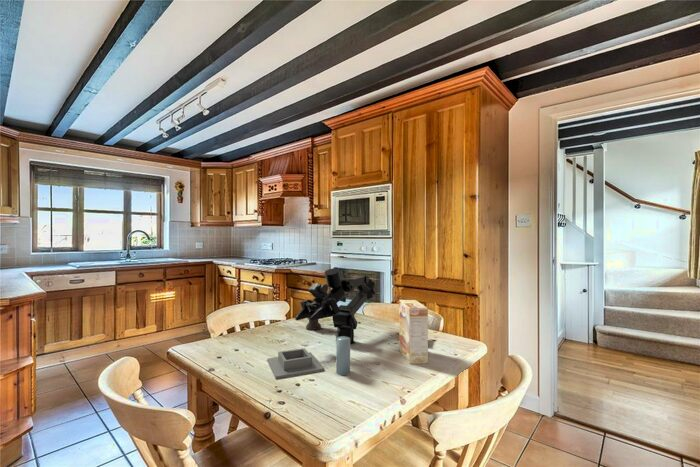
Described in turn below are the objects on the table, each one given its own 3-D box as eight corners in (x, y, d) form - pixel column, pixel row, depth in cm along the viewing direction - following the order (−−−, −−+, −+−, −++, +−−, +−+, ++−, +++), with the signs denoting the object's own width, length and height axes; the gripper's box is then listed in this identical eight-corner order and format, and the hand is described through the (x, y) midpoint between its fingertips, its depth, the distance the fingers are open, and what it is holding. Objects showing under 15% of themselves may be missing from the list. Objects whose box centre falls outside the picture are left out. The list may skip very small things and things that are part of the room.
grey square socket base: (310, 354, 121) (310, 344, 121) (324, 370, 106) (324, 359, 106) (267, 360, 115) (267, 350, 115) (275, 379, 100) (275, 366, 100)
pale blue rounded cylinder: (346, 368, 108) (347, 335, 108) (352, 373, 104) (352, 339, 104) (334, 370, 106) (334, 337, 106) (339, 376, 102) (339, 341, 102)
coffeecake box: (398, 349, 127) (398, 299, 127) (416, 348, 128) (416, 299, 128) (408, 364, 112) (408, 308, 112) (428, 363, 113) (428, 307, 113)
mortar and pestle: (331, 327, 158) (331, 286, 158) (324, 332, 149) (324, 289, 150) (309, 325, 161) (309, 285, 161) (301, 330, 153) (302, 287, 153)
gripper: (309, 281, 132) (280, 300, 121) (339, 277, 119) (309, 298, 108) (320, 305, 134) (292, 326, 123) (351, 303, 120) (322, 327, 110)
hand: (303, 319), depth 116 cm, fingers open, 9 cm apart
